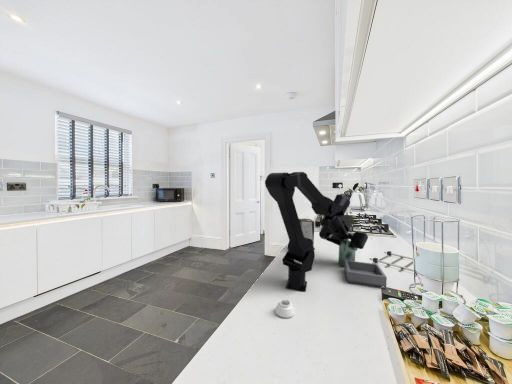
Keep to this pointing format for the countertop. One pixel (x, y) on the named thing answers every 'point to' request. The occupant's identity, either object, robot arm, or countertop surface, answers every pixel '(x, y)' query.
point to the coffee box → (307, 228)
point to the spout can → (345, 252)
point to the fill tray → (364, 274)
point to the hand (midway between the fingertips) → (348, 247)
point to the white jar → (284, 309)
